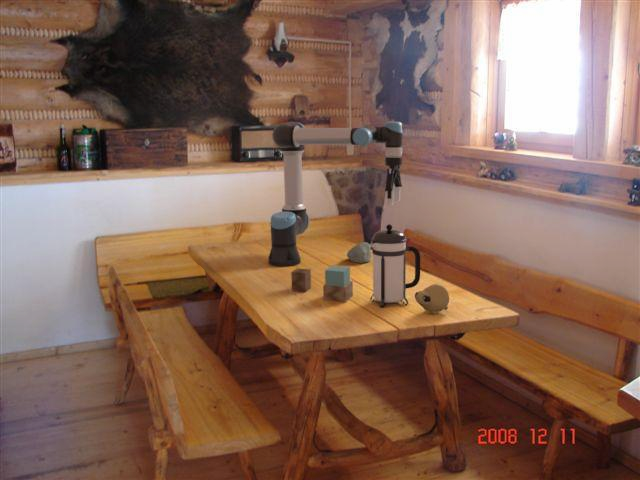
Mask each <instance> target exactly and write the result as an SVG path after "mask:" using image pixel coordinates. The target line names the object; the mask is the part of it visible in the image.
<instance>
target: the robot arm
mask: <svg viewBox="0 0 640 480" xmlns="http://www.w3.org/2000/svg"><path fill="white" fill-rule="evenodd" d="M403 133H404V131H403V124H402V122H400V121H386V122H385V124H384V125H383V126H376V125H375V126H372V125H371V126H369V125H365V126H360V127H305V125H303V124H302V123H300V122H298V121H288V122H282V123H279V124H277V125H275V127H274V129H273V130H272V134H271V136H272V140H273V143H274V144H275V145H276V146H277V147H278V148H279V150H280V153H281V154H283V176H284V177H283V179H284V180H283V183H284V185H283V186H284V205H282V207H281V211H280V212H275V213H274V214H272V215H271V217H270V224H269V225H270V238H271V240H270V241H271V242H270V243H271V249H270V252H269V255H268V258H267V260H268V262H267V264H268V265H270V266H273V267H291V266H292V267H293V266H297V265H299V264H301V261H302V260H301V255H300V253H299V250H298V248H297V236H299V235H301V234H303V233H305V231H306V230H307V229H308V228H309V226H310V216H309V214H308V213H307V207H306V206H305V204H304V203H303V202H304V200H303V163H302V160H303V159H302V158H303V156H302V154H303V153H304V152H305V151H306V150H305V149H306V148H305V147H306V146H312V145H313V146H360V147H366V146H368V145H372V144H385V147H384V149H385V152H384V154H385V155H384V156H385V158H384V159H385V160H384V161H385V162H384V165H385V166H389V168H387V171H386V172H387V173H386V174H387V175H386V182H385V189H384V191H385V192H386V206H389V207H393V206H394V202H400V201H401V187H403V185H402V179H401V178H402V177H401V169H400V168H401V167H400V166H403V157H402V156H403V152H404V149H403Z"/></svg>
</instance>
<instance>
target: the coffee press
mask: <svg viewBox="0 0 640 480" xmlns="http://www.w3.org/2000/svg"><path fill="white" fill-rule="evenodd" d="M385 228H386V229H384V230H379V231H377V232H375V233H374V234H373V237H371V242H370V243H369V245H370V248H371V249H372V250H371V251H372V252H371V254H372V267H373V268H372V285H373V286H372V288H373V289H372V295H371V297H370V301H372V302H373V301H378V302H380V303H379V307H380V308H382V307H383V308H382V309H384V308H385V306H386V305H387V304H389V303H392V304H393V303H398V302H401V303H402V304H403V305H404V306H407V305H408V304H409V301H408V299H407V297H406V289H412V288H414V287H416V286H417V285H418V284H419V282H420V279H421V254H420V252H419V249H418V248H416V247H414V246H411V245H408V246H406V242H407V240H408V239H407V237H406V235H405V234H404V232H402V231H399V230H397V229H396V230H394V229H393V226H392V224H389V223H388V224H387V225H386V227H385ZM407 252H412V253H413V254H414V256H415V257H414V258H415V259H414V264H415V265H414V279H413V281H411V282H410V283H409V282H408V283H406V269H407V268H406V261H407V260H406V259H407V258H406V254H407ZM405 304H406V305H405Z"/></svg>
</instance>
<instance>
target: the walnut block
mask: <svg viewBox="0 0 640 480" xmlns="http://www.w3.org/2000/svg"><path fill="white" fill-rule="evenodd" d="M290 275H291V276H290V277H291V292H296V291H299V293H307V292H308V291H310V290H311V289H312V279H311V278H312V276H311V275H312V274H311V268H310V269H309V268H295V269H294V270H292V271H291V272H290Z"/></svg>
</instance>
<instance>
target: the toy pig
mask: <svg viewBox="0 0 640 480" xmlns="http://www.w3.org/2000/svg"><path fill="white" fill-rule="evenodd" d="M414 297H415V298H414V299H415V301H416V302H417V304H419V305H420V306H421V307H422V308H423V309H424V310H425V312H428V313H432V315H433V316H437V315H438V313H439V312H442V311H444V310H445V311H447V310H448V309H449V307H448V305H449V301H450V294H449V292H448V290H447V288H446V287H445V286H444V285H442V284H441V283H433V284H432V285H429V286H427V287H426V288H424V289H422V290H419V291H417V292H415V293H414Z"/></svg>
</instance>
